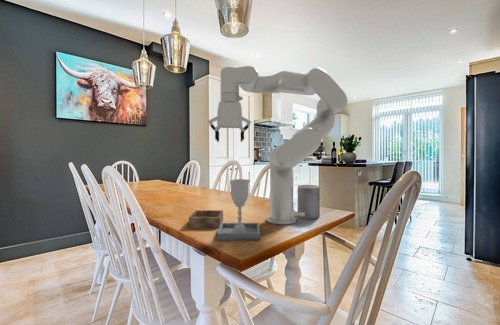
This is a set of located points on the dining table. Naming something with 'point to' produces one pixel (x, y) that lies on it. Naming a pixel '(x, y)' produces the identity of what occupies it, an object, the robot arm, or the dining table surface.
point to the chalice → (239, 200)
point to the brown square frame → (206, 219)
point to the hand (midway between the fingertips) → (229, 141)
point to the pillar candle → (309, 201)
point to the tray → (227, 233)
